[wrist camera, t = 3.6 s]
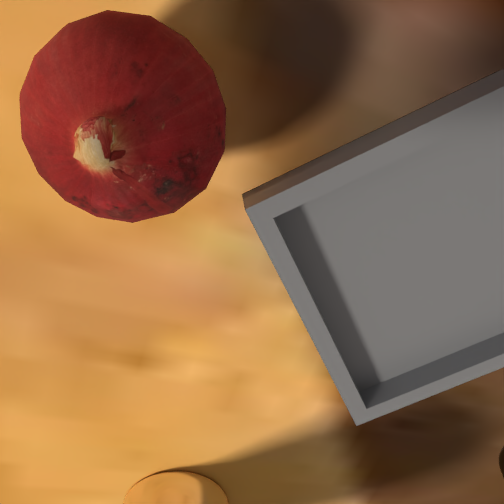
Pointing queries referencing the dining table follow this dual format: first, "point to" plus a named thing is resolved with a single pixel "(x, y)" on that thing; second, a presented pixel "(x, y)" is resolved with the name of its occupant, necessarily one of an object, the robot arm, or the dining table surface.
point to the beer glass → (176, 490)
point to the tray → (398, 251)
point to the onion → (123, 116)
